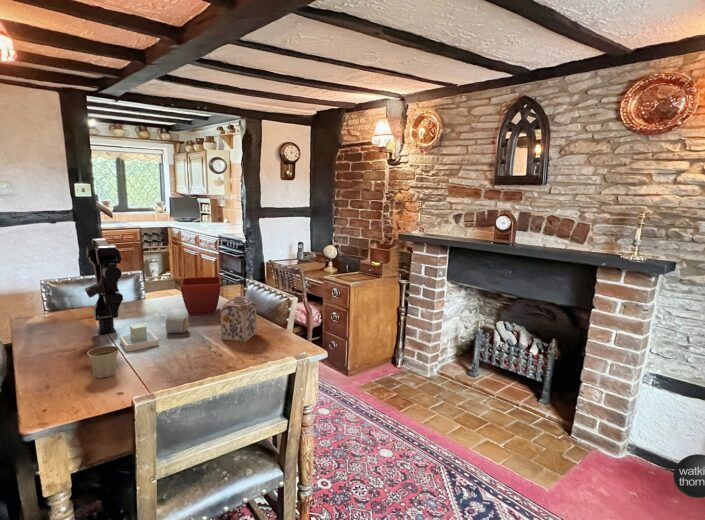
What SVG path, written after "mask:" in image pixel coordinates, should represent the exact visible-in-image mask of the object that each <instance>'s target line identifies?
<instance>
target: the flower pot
mask: <svg viewBox="0 0 705 520" xmlns="http://www.w3.org/2000/svg"><path fill="white" fill-rule="evenodd" d="M119 351H120V347H119V346H116V345H105V346H99V347H95V348H92V349H90V350H88V351H87V352H86V354H87V356H88V358H89V359H90V363H91V366H92V371H93V375H94V378H97V379H102V378H110V377H112V376H114V375H115V374H116V370H117V369H116V367H117V357H118V354H119Z"/></svg>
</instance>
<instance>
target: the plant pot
mask: <svg viewBox="0 0 705 520" xmlns="http://www.w3.org/2000/svg"><path fill="white" fill-rule="evenodd" d="M221 280H222V277H221V276H201V277H200V276H197V277H184V278H182V280H181V282H180V285H179V286H180V287H179V288H180V292H181V297H182V300H183V303H184V307H185V309H186V312H187V314H188V316H202V315H203V316H204V315H205V316H206V315H215V314H216V311H217V308H218V304H219V301H220V300H219V299H220V294H221V287H222V286H221V284H222V282H221Z"/></svg>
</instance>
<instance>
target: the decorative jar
mask: <svg viewBox="0 0 705 520" xmlns="http://www.w3.org/2000/svg"><path fill="white" fill-rule="evenodd" d="M257 324H258V323H257V305H256V304H255V302H253V301H252V300H250V299H246V298H245V297H244V296H239V295H238V296H234V297H232V299H230V300H227V301H225V302H224V304H223V306H222V307H221V308H220V337H221V338H220V339H221V340H224V341H233V342H240V343H247V342H248V341H249V340H250V339H252V338H253V337H254V336H255V335H257V332H258V331H257V328H258V325H257Z"/></svg>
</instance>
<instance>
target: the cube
mask: <svg viewBox="0 0 705 520" xmlns="http://www.w3.org/2000/svg"><path fill="white" fill-rule="evenodd" d="M129 328H130V331H129V332H130V335H131V338H132V339H133V341H135V340H140V339H146V338H147V332H148V330H147V326H146V324H145V323H139V324H131V325H129Z"/></svg>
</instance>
